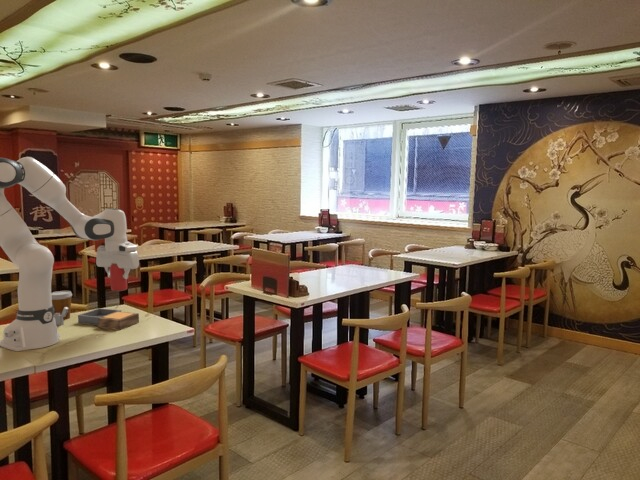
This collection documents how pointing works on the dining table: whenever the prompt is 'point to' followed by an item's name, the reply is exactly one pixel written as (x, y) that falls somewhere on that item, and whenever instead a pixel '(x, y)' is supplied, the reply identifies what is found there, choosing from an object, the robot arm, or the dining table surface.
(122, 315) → the orange square panel
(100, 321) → the checker stand
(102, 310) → the tray
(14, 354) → the dining table surface
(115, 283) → the beer can
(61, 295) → the disposable coffee cup
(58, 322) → the lighter
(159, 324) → the dining table surface
